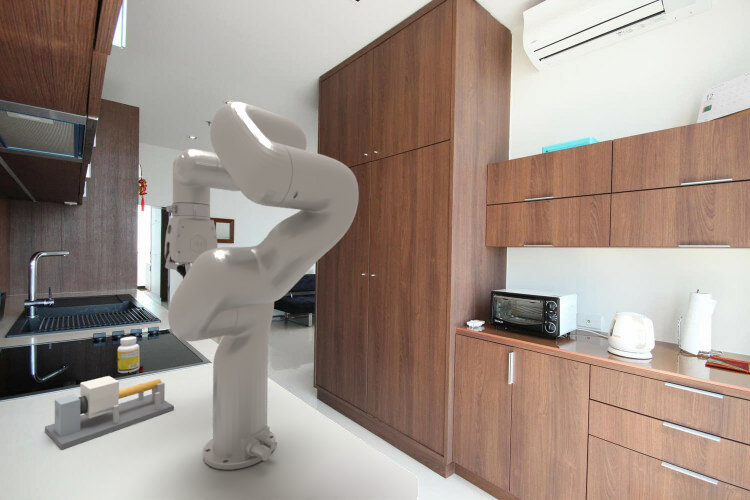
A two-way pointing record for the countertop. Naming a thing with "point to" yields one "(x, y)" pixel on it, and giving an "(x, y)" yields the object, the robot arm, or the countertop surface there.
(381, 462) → the countertop surface
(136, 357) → the supplement bottle
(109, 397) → the white sliding carriage
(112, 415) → the linear actuator
